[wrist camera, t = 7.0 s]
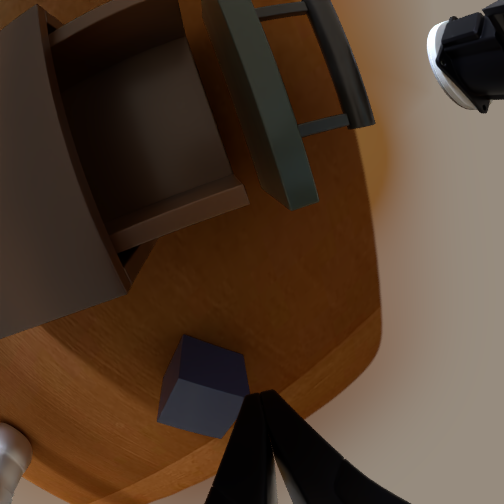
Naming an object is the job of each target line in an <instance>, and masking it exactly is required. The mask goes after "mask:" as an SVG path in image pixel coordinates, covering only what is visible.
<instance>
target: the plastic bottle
mask: <svg viewBox="0 0 504 504" xmlns="http://www.w3.org/2000/svg"><path fill="white" fill-rule="evenodd" d="M32 453H33V451H32V447H31V444H30V442H29V441H28V439H27V438H26V437H25V436H24V435H23V434H22V433H20V432H19V431H18V430H17V429H15V428H14V427H12V426H10V425H8V424H5V423H0V504H11V503H12V497H13V495H14V491H15V489H16V487H17V485H18V483H19V480H20V478H21V477H22V475H23V473H24V472H25V471H26V469H27V468H28V466H29V464H30V463H31V459H32Z"/></svg>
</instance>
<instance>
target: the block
mask: <svg viewBox="0 0 504 504" xmlns="http://www.w3.org/2000/svg"><path fill="white" fill-rule="evenodd" d="M247 394H250V391H249V385H248V379H247V374H246V368H245V362H244V356H243V355H242V354H239V353H236V352H233V351H230V350H227V349H224V348H221V347H218V346H215V345H212V344H209V343H207V342H204V341H201V340H198V339H196V338H193V337H190V336H187V335H185V334H183V336H182V338H181V340H180V342H179V345H178V347H177V349H176V351H175V353H174V355H173V358H172V360H171V362H170V364H169V366H168V368H167V371H166V373H165V375H164V377H163V383H162V389H161V395H160V402H159V409H158V416H157V422H159V423H162V424H166V425H169V426H172V427H176V428H179V429H183V430H187V431H190V432H194V433H198V434H202V435H206V436H210V437H215V438H219V439H221V438H222V437H223V436H224V435H225V433H226V432H227V431H228V429H229V428H230V427H231V425H232V424H233V423H234V421H235V420H236V419H237V417H238V414H239V411H240V408H241V405H242V403H243V400H244V397H245V395H247Z"/></svg>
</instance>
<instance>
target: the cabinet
mask: <svg viewBox="0 0 504 504" xmlns="http://www.w3.org/2000/svg"><path fill="white" fill-rule="evenodd" d="M62 26H64V24H62V23H61V22H60V21H58V20H57V19H56V18H55V17H53V16H52V15H51V14H49V13H48V12H47V11H45V10H44V9H43V8H42V7H40V6H39V5H38V4H36V5H34V6H33V7H31V8H30V9H29V10H27V11H26V12H24V13H23V14H21V15H20V16H19V17H17V18H16V19H15V20H13V21H12V22H11V23H9V24H8V25H7V26H6V27H4V28H3V29H2V30H1V31H0V339H2V338H5V337H7V336H10V335H13V334H16V333H19V332H21V331H24V330H27V329H30V328H33V327H36V326H38V325H41V324H44V323H47V322H50V321H52V320H55V319H58V318H61V317H64V316H67V315H69V314H72V313H75V312H78V311H81V310H84V309H86V308H89V307H92V306H95V305H98V304H101V303H103V302H106V301H109V300H112V299H115V298H118V297H120V296H123V295H126V294H127V293H128V291H129V290H130V288H131V286H132V284H133V282H134V280H135V278H136V276H137V274H138V273H139V271H140V269H141V267H142V266H143V264H144V262H145V260H146V259H147V257H148V255H149V253H150V252H151V250H152V248H153V247H154V245H155V243H156V242H157V240H158V238H159V237H158V238H156V239H153V240H151V241H148V242H145V243H143V244H140V245H138V246H135V247H133V248H130V249H128V250H125V251H123V252H120V253H118V254H117V253H116V251H115V249H114V246H113V244H112V242H111V240H110V237H109V235H108V233H107V230H106V228H105V226H104V223H103V221H102V218H101V216H100V213H99V211H98V208H97V206H96V203H95V201H94V198H93V196H92V193H91V190H90V188H89V185H88V182H87V179H86V177H85V174H84V171H83V168H82V165H81V162H80V159H79V156H78V153H77V150H76V147H75V144H74V141H73V138H72V134H71V131H70V128H69V124H68V121H67V117H66V114H65V110H64V106H63V102H62V98H61V95H60V90H59V86H58V82H57V78H56V73H55V68H54V64H53V59H52V53H51V48H50V42H49V36H48V35H49V34H51V33H52V32H54V31H55V30H57V29H59V28H60V27H62Z"/></svg>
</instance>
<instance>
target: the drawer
mask: <svg viewBox="0 0 504 504" xmlns="http://www.w3.org/2000/svg"><path fill="white" fill-rule="evenodd" d="M201 4H202V18H203V21H204V24H205V26H206V29H207V32H208V34H209V37H210V40H211V42H212V45H213V48H214V51H215V53H216V56H217V59H218V62H219V64H220V67H221V70H222V73H223V76H224V78H225V81H226V84H227V87H228V90H229V93H230V95H231V98H232V101H233V104H234V107H235V110H236V113H237V116H238V119H239V122H240V124H241V127H242V130H243V133H244V136H245V139H246V142H247V145H248V148H249V151H250V154H251V157H252V160H253V163H254V166H255V169H256V172H257V175H258V179H259V182H260V185H261V188H262V189H263V190H264V191H266V192H267V193H268V194H270V195H271V196H272V197H274V198H275V199H276V200H278V201H279V202H280V203H281V204H283V205H284V206H285V207H287V208H288V209H289V210H291V211H293V210H296V209H299V208H302V207H305V206H308V205H311V204H314V203H317V202H319V197H318V193H317V189H316V186H315V182H314V178H313V175H312V171H311V168H310V164H309V161H308V157H307V154H306V151H305V147H304V144H303V141H302V137H306V136H309V135H313V134H317V133H321V132H325V131H328V130H332V129H336V128H341V127H345V126H347V129H356V128H361V127H366V126H370V125H374V124H375V120H374V117H373V113H372V109H371V106H370V103H369V99H368V96H367V93H366V90H365V87H364V84H363V81H362V78H361V75H360V72H359V69H358V66H357V63H356V61H355V58H354V55H353V53H352V50H351V47H350V45H349V42H348V40H347V37H346V35H345V33H344V30H343V28H342V25H341V23H340V21H339V18H338V16H337V14H336V12H335V9H334V7H333V5H332V3H331V1H330V0H302V1H301V2H294V3H286V4H279V5H272V6H266V7H260V8H255V9H254V6H253V4H252V2H251V0H201ZM305 14H307V17H308V19H309V21H310V24H311V26H312V28H313V31H314V33H315V36H316V38H317V41H318V43H319V46H320V48H321V51H322V54H323V56H324V59H325V61H326V64H327V67H328V70H329V73H330V75H331V78H332V81H333V84H334V87H335V90H336V93H337V96H338V99H339V102H340V105H341V109H342V112H343V114H339V115H335V116H330V117H326V118H322V119H318V120H314V121H310V122H306V123H302V124H298V125H297V122H296V119H295V116H294V113H293V110H292V107H291V104H290V101H289V98H288V95H287V92H286V89H285V86H284V83H283V80H282V78H281V75H280V72H279V69H278V67H277V64H276V61H275V59H274V56H273V53H272V51H271V48H270V45H269V43H268V40H267V38H266V35H265V33H264V30H263V28H262V25H261V23H260V22H261V21H267V20H272V19H278V18H284V17H291V16H298V15H305ZM48 36H49V42H50V48H51V53H52V59H53V64H54V68H55V73H56V78H57V82H58V86H59V90H60V95H61V98H62V102H63V106H64V110H65V114H66V117H67V121H68V124H69V128H70V131H71V134H72V138H73V141H74V144H75V147H76V150H77V153H78V156H79V159H80V162H81V165H82V168H83V171H84V174H85V177H86V179H87V182H88V185H89V188H90V190H91V193H92V196H93V198H94V201H95V203H96V206H97V208H98V211H99V213H100V216H101V218H102V221H103V223H104V226H105V228H106V230H107V233H108V235H109V237H110V240H111V242H112V244H113V246H114V249H115V251H116V253H117V254H118V253H120V252H123V251H125V250H128V249H130V248H133V247H135V246H138V245H140V244H143V243H145V242H148V241H151V240H153V239H156V238H158V237H161V236H164V235H166V234H169V233H171V232H174V231H177V230H179V229H182V228H185V227H188V226H190V225H193V224H196V223H198V222H201V221H204V220H207V219H209V218H212V217H215V216H218V215H221V214H223V213H226V212H229V211H232V210H235V209H238V208H241V207H243V206H246V205H249V204H250V202H249V199H248V196H247V193H246V190H245V187H244V185H243V184H242V183H241V182H240V181H239V180H238V178H237V177H236V176H235V175H234V174H233V171H232V168H231V165H230V162H229V159H228V156H227V153H226V150H225V147H224V145H223V142H222V139H221V136H220V133H219V130H218V127H217V124H216V121H215V118H214V115H213V113H212V110H211V107H210V104H209V101H208V98H207V95H206V92H205V89H204V87H203V84H202V81H201V78H200V75H199V72H198V69H197V67H196V64H195V61H194V58H193V55H192V52H191V49H190V47H189V44H188V41H187V38H186V35H185V30H184V26H183V21H182V17H181V12H180V8H179V3H178V0H112V1H110V2H108V3H105V4H103V5H101V6H99V7H97V8H95V9H93V10H91V11H89V12H87V13H85V14H83V15H82V16H80V17H78V18H76V19H74V20H72V21H71V22H69V23H67V24H65V25H64V26H62V27H60V28H59V29H57V30H55V31H54V32H52V33H51V34H49V35H48Z"/></svg>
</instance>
